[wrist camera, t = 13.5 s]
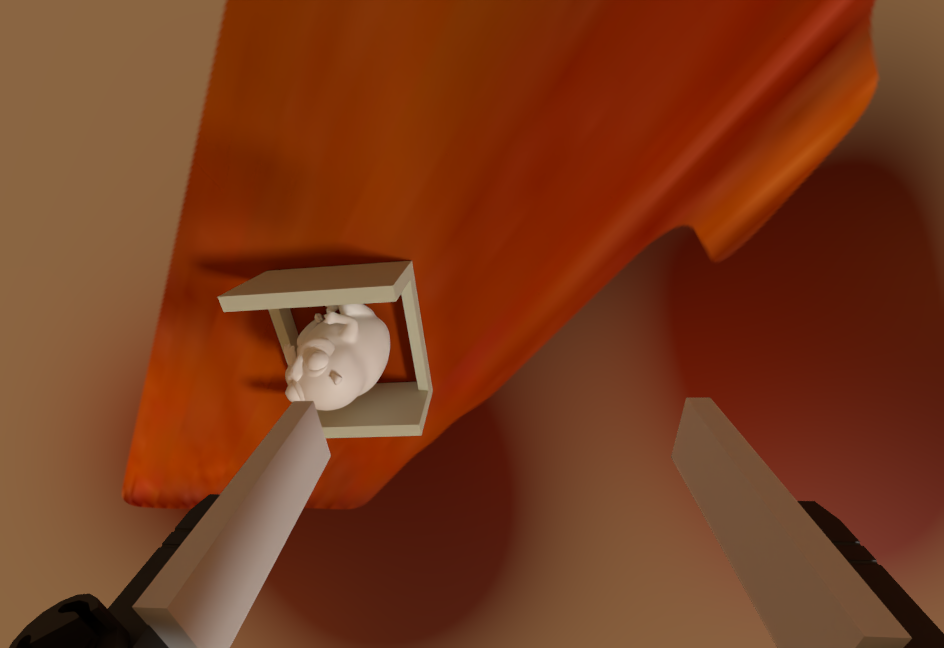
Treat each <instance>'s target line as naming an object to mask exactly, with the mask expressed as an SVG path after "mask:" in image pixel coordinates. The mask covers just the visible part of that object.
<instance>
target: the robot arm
mask: <svg viewBox="0 0 944 648" xmlns="http://www.w3.org/2000/svg"><path fill="white" fill-rule="evenodd" d="M330 457H331V455H330V452H329V448H328V445H327V442H326V439H325V436H324V433H323V429H322V426H321V423H320V420H319V417H318V413H317V410H316V407H315V404H314V401H293V403H292V404H291V405H290V406H289V408H288V409H287V410H286V411H285V413H284V414H283V415H282V417H281V418H280V419H279V420H278V422H277V423H276V424H275V425H274V427H273V428H272V429H271V431H270V432H269V433H268V434H267V436H266V437H265V438H264V439H263V441H262V442H261V443H260V445H259V446H258V447H257V448H256V450H255V451H254V452H253V453H252V455H251V456H250V457H249V459H248V460H247V461H246V462H245V464H244V465H243V466H242V468H241V469H240V470H239V471H238V473H237V474H236V475H235V476H234V478H233V479H232V480H231V482H230V483H229V484H228V485H227V487H226V488H225V489H224V490H223V492H222V493H221V494H220V495H214V494H210V495H208V496H207V497H206V498H205V499H203V500H202V501H201V502H200V503H198V504H197V505H196V506H195V507H193V508H192V509H191V510H190V511H189V512H188V513H187V514H186V516H185V517H184V518H183V519H182V520H181V522H180V523H179V524H178V525H177V526H176V528H175V531H174V532H171V534H170V535H169V536H168V537H167V538H166V540H165V541H164V542H163V543H162V547H161V548H158V549H157V550H156V552H155V553H154V554H153V555H152V556H151V558H150V559H149V560H148V561H147V562H146V564H145V565H144V566H143V567H142V568H141V570H140V571H139V572H138V573H137V575H136V576H135V577H134V578H133V579H132V581H131V582H130V583H129V584H128V585H127V586H126V588H125V589H124V590H123V591H122V593H121V594H120V595H119V596H118V597H117V598H116V600H115V601H114V602H113V603H112V604H111V606H110V607H109V608H108V609H107V608H106V607H105V606H104V605H103V604H102V603H101V602H100V601H99V600H98V599H97V598H96V597H94V596H93V595H91V594H83V595H82V594H81V595H75V596H73V597H70V598H68V599H65V600H63V601H61V602H59V603H57V604H56V605H54V606H53V607H51V608H49V609H48V610H46V611H44V612H43V613H42V614H40V615H39V616H38V617H37V618H36V619H34V620H33V621H32V622H31V623H30V624H28V625H27V626H26V627H25V628H24V629H23V631H22V632H21V633H20V634H19V635H18V636H17V638H16V639H15V640H14V641H13V642H12V644H11V645H10V647H9V648H230V646H231V644H232V642H233V640H234V638H235V636H236V635H237V633H238V631H239V629H240V627H241V625H242V623H243V621H244V619H245V617H246V616H247V614H248V612H249V610H250V608H251V606H252V604H253V602H254V600H255V598H256V597H257V595H258V593H259V591H260V589H261V587H262V585H263V583H264V582H265V580H266V578H267V576H268V574H269V572H270V570H271V568H272V566H273V565H274V563H275V561H276V559H277V557H278V555H279V553H280V551H281V549H282V547H283V545H284V544H285V542H286V540H287V538H288V536H289V534H290V532H291V530H292V528H293V527H294V525H295V523H296V521H297V519H298V517H299V515H300V513H301V512H302V510H303V508H304V506H305V504H306V502H307V500H308V498H309V496H310V494H311V493H312V491H313V489H314V487H315V485H316V483H317V481H318V479H319V477H320V476H321V474H322V472H323V470H324V468H325V466H326V464H327V462H328V460H329V458H330ZM671 458H672V460H673V462H674V463H675V465H676V467H677V469H678V470H679V472H680V474H681V476H682V478H683V480H684V481H685V483H686V485H687V487H688V488H689V490H690V492H691V494H692V496H693V498H694V499H695V501H696V503H697V505H698V506H699V508H700V510H701V512H702V514H703V515H704V517H705V519H706V521H707V522H708V524H709V526H710V528H711V530H712V532H713V533H714V535H715V537H716V539H717V541H718V542H719V544H720V546H721V548H722V549H723V551H724V553H725V555H726V557H727V558H728V560H729V562H730V564H731V566H732V568H733V569H734V571H735V573H736V575H737V576H738V578H739V580H740V582H741V583H742V585H743V587H744V589H745V591H746V592H747V594H748V596H749V598H750V600H751V602H752V603H753V605H754V607H755V609H756V611H757V612H758V614H759V616H760V618H761V619H762V621H763V623H764V625H765V627H766V628H767V630H768V632H769V634H770V635H771V637H772V639H773V641H774V643H775V644H776V646H777V648H944V634H943V632H941V630H940V629H939V628H938V627H937V626H936V625H935V624H934V623H933V621H932V620H931V619H930V618H929V617H928V616H927V615H926V614H925V613H924V612H923V611H922V609H921V608H920V607H919V606H918V605H917V604H916V603H915V602H914V601H913V600H912V599H911V597H909V595H908V594H907V593H906V592H905V591H904V590H903V589H902V588H901V587H900V585H899V584H898V583H897V582H896V581H895V580H894V579H893V578H892V577H891V575H889V573H888V572H887V571H886V570H885V569H884V568H883V567H882V566H881V565H878V564H877V562H876V559H875V558H874V557H873V556H872V555H871V554H870V553H869V551H868V550H867V549H866V548H865V547H864V546H861V545H860V542H859V541H858V539H857V538H856V537H855V536H854V535H853V534H852V533H851V532H850V531H849V529H848V528H847V527H846V526H845V525H844V524H843V523H842V522H841V521H840V520H839V519H838V518H837V517H835V516H834V515H832V514H831V513H830V512H828V511H827V510H826V509H824V508H823V507H821V506H820V505H819V504H817V503H816V502H815V501H796V499H795V498H794V497H793V496H792V495H791V493H790V492H789V491H788V490H787V489H786V488H785V486H784V485H783V484H782V483H781V481H780V480H779V479H778V478H777V477H776V476H775V475H774V473H773V472H772V471H771V470H770V468H769V467H768V466H767V465H766V464H765V463H764V461H763V460H762V459H761V458H760V457H759V455H758V454H757V453H756V452H755V451H754V449H753V448H752V447H751V446H750V445H749V443H748V442H747V441H746V440H745V439H744V437H743V436H742V435H741V434H740V433H739V432H738V430H737V429H736V428H735V427H734V426H733V424H732V423H731V422H730V421H729V420H728V418H727V417H726V416H725V415H724V414H723V413H722V411H721V410H720V409H719V408H718V407H717V406H716V404H715V403H714V402H713V401H712V400H711V398H686V401H685V405H684V409H683V413H682V417H681V421H680V425H679V429H678V432H677V436H676V440H675V444H674V448H673V452H672V456H671Z"/></svg>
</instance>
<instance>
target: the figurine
mask: <svg viewBox="0 0 944 648" xmlns="http://www.w3.org/2000/svg"><path fill="white" fill-rule="evenodd" d="M325 307H327V309H326V310H327V314H325V315H324V317H323V316H322V315H321V314H319V313H316V314H315V317H314V318H315V320H313V321H312V322H311V323H309V324H308V325H307V326H306V327H305V328H304V330H303V331H302V332H301V333H300V335H299V337H298V339H297V345H298V348H297V357H296V351H295V350H294V349H295V347H294V345H293V346H291V345H290V344H288V345H286V344H285V345H284V350H283V352H284V354H285V355H286V358H287V363H288V368H287V370H286V373H285V378H286V382H287V384H288V387H287V389H286V391H285V394H286V396H287V398H288V399H289V400H290V401H292V402H293V401H314V404H315V407H316V409H317V410H324V411H328V410H336V409H339V408H342V407H344V406H346V405H348V404H349V403H351V402H352V401H353V400H354V399H355V398H356V397H357V396H360V395H362V394H364V393H366V392H367V391H368V390H370V389H371V388H372V387H373V386H374V385H375V384H376V382H377V381H378V380H379V378H380V376H381V375H382V373H383V371H384V369H385V366H386V364H387V361H388V357H389V352H390V336H389V331H388V329H387V326H386V325H385V323H384V322H383V321H382V320H380V319H379V318H378V317H377V316H376V315H375V314H374V312H373V311H372V310H371V309H370V308H369V307H367V306H366V305H364V304H347V305H331V306H325ZM338 309H339V311H340V314H337V313H335V311H336V310H338ZM324 318H325V320H324Z"/></svg>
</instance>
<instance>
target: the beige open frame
mask: <svg viewBox="0 0 944 648" xmlns="http://www.w3.org/2000/svg"><path fill="white" fill-rule="evenodd" d="M400 295H402V301H403V306H404V312H405V318H406V323H407V329H408V334H409V340H410V345H411V351H412V356H413V362H414V368H415V373H416V379H417V382H397V383H376V384H375V385H374V386H373V387H372V388H371V389H370V390H368V391H367V392H366V393H364V394H362V395H360V396H357V397H356V398H355V399H354V400H353V401H352V402H351V403H349V404H348V405H346V406H344V407H342V408H339V409H336V410H328V411H324V410H317V409H316V410H317V413H318V417H319V420H320V423H321V426H322V429H323V433H324V436H325V438H349V437H385V436H421V435H422V431H423V427H424V423H425V419H426V415H427V411H428V407H429V403H430V399H431V396H432V392H433V390H432V384H431V377H430V371H429V365H428V359H427V352H426V346H425V340H424V334H423V327H422V321H421V315H420V309H419V302H418V296H417V290H416V284H415V277H414V271H413V265H412V261H399V262H385V263H370V264H356V265H342V266H328V267H313V268H299V269H285V270H270V271H266V272H264V273H262V274H260V275H258V276H256V277H254V278H252V279H250V280H249V281H247V282H245V283H243V284H241V285H239V286H237V287H235V288H233V289H232V290H230V291H228V292H226V293H224V294H222V295H220V296H218V299H219V302H220V304H221V306H222V309H223V311H224V312H231V311H248V310H264V309H268V310H269V313H270V316H271V319H272V322H273V325H274V327H275V330H276V333H277V336H278V339H279V341H280V344H281V347H282V350H284V345H285V344H286V345H288V344H290V345H291V346H293V345H294V347H295V349H294V350H295V351H296V357H297V348H298V345H297V339H298V337H299V335H298V332H297V329H296V326H295V323H294V320H293V317H292V314H291V310H290V308H297V307H314V306H331V305H347V304H364V303H380V302H396V301H397V299H398V298H399V296H400ZM283 353H284V352H283ZM284 356H285V358H286V355H285V354H284ZM286 361H287V358H286ZM287 364H288V363H287Z"/></svg>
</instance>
